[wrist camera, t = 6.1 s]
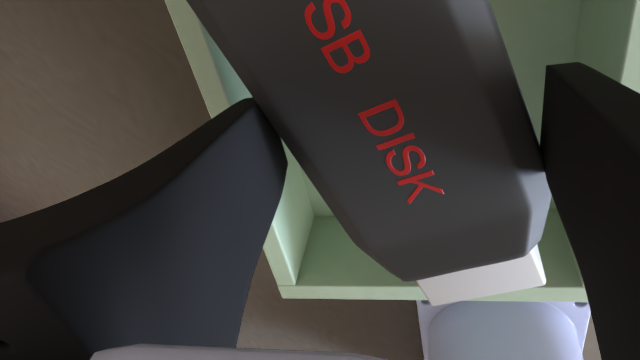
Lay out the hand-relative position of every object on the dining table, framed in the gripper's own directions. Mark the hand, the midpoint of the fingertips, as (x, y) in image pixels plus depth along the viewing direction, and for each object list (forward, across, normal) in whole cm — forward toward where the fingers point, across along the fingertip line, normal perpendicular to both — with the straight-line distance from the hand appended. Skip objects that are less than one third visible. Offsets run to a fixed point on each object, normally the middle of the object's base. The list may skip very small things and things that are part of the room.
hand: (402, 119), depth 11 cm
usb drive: (+2, 0, 0) cm, 2 cm away
